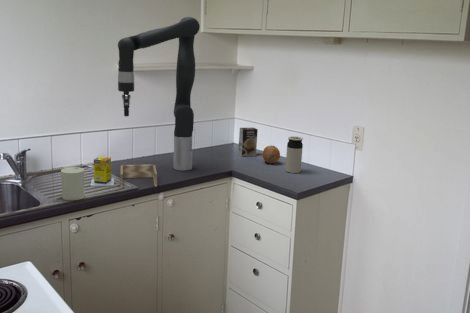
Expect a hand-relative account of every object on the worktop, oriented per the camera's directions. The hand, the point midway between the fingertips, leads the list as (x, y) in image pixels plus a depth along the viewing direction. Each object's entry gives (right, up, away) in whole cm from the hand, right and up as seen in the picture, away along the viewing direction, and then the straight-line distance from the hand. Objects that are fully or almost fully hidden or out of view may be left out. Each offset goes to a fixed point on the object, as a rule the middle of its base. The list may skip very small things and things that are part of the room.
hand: (126, 114), depth 235 cm
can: (-14, -37, -34) cm, 52 cm away
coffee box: (+60, -20, +49) cm, 80 cm away
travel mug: (+83, -28, +20) cm, 90 cm away
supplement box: (-8, -32, -14) cm, 36 cm away
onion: (+72, -24, +34) cm, 84 cm away
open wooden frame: (+8, -32, -11) cm, 35 cm away
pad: (-8, -32, -14) cm, 36 cm away
